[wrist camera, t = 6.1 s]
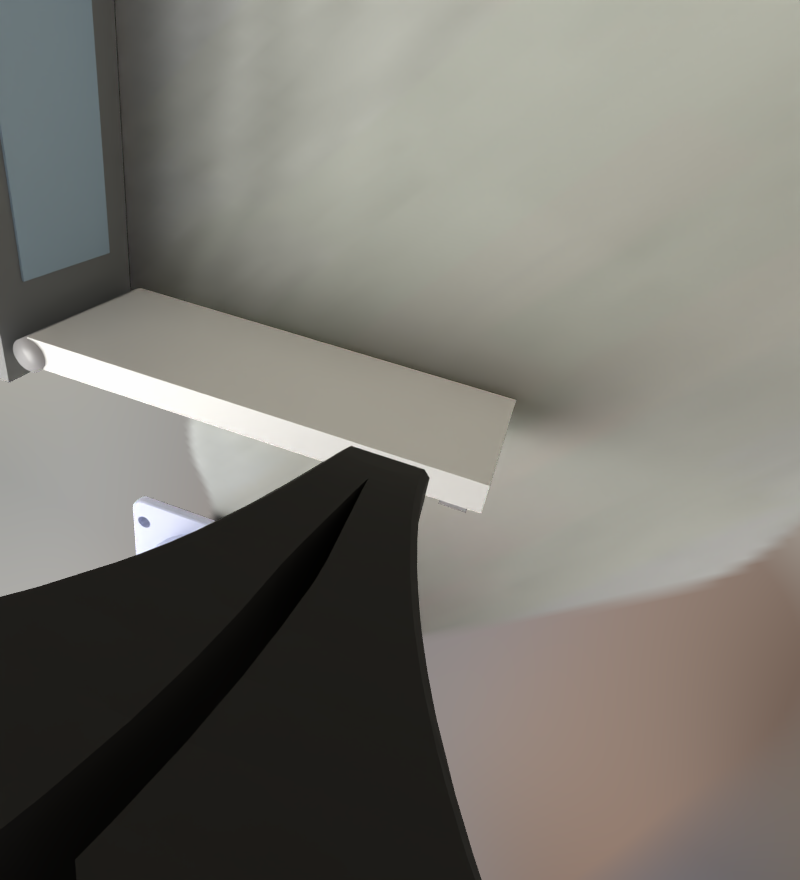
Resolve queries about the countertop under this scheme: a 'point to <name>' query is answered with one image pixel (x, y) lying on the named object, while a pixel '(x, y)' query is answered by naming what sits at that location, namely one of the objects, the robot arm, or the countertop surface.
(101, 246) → the camera body
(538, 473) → the countertop surface
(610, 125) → the countertop surface
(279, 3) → the countertop surface
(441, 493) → the side door
